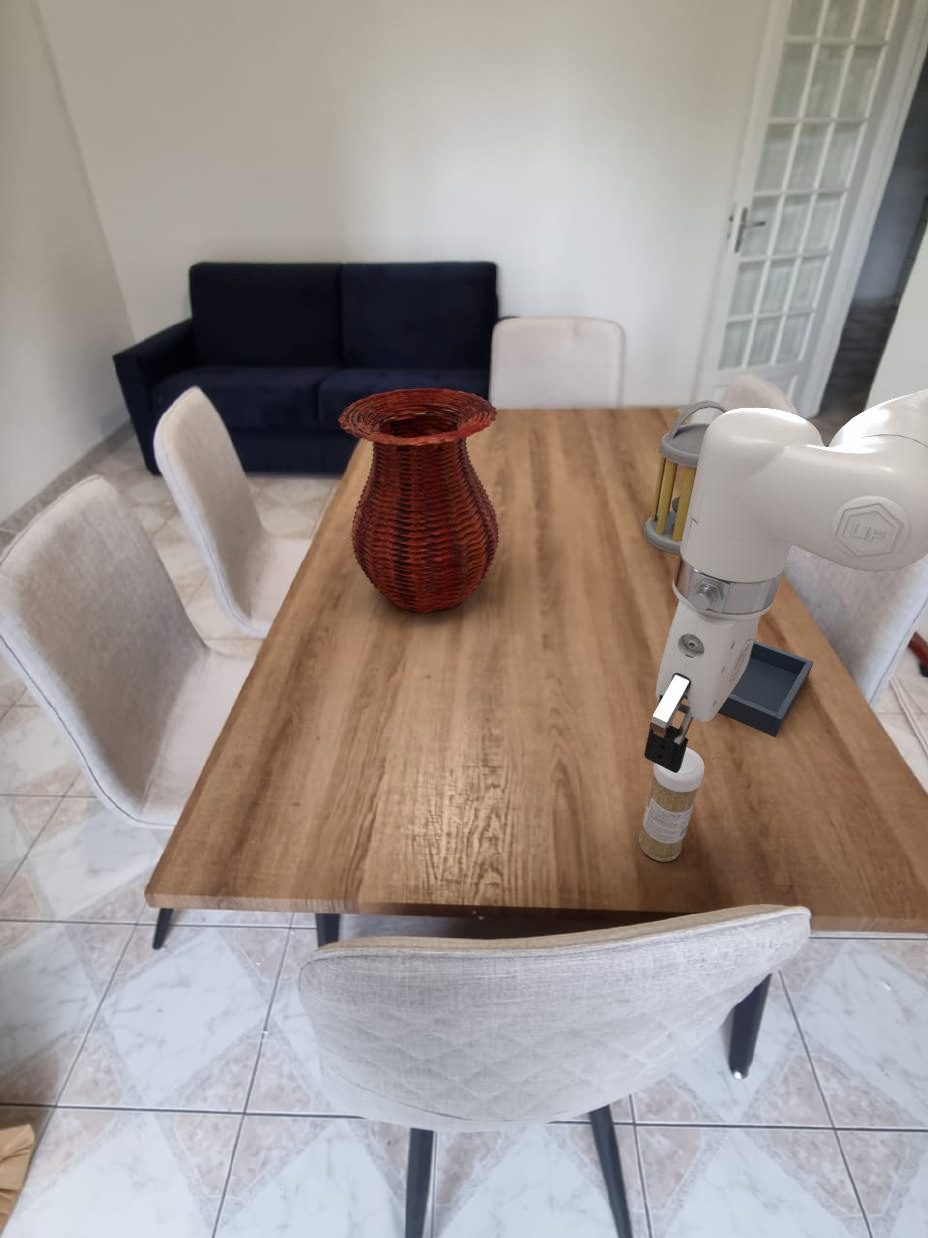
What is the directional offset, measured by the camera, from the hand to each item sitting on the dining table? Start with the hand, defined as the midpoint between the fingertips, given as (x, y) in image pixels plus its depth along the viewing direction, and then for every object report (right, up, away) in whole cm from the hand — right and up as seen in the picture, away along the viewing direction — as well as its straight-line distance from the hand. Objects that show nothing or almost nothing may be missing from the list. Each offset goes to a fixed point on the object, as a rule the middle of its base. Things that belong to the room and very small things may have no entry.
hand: (684, 731), depth 62 cm
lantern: (+20, +26, +63) cm, 71 cm away
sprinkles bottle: (+1, -14, +10) cm, 18 cm away
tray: (+17, +2, +30) cm, 35 cm away
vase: (-26, +15, +51) cm, 59 cm away
